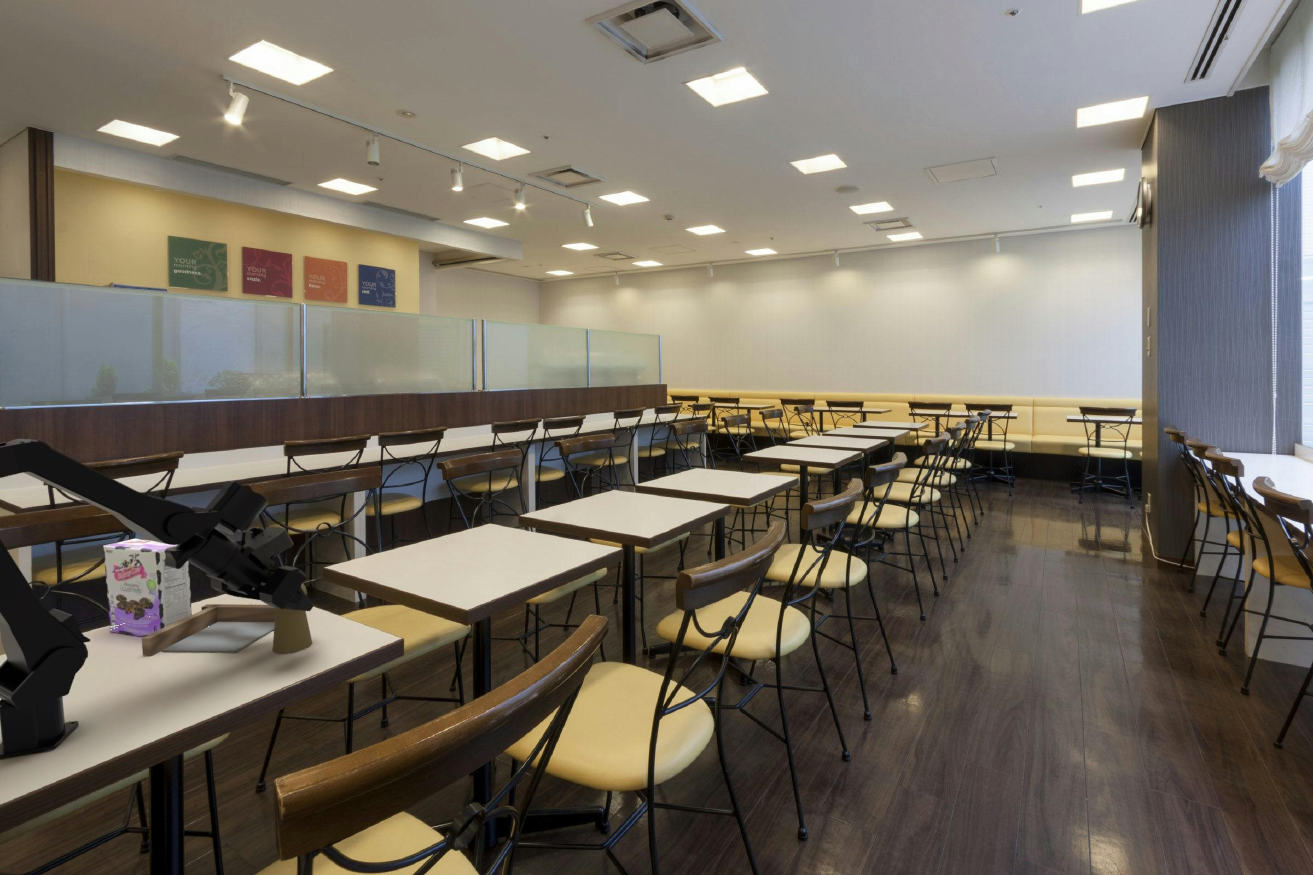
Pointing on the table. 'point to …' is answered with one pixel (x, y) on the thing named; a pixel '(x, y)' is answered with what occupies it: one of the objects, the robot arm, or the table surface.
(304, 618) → the cork
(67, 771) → the table surface
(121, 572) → the candy box
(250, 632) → the wood edged grey tray
